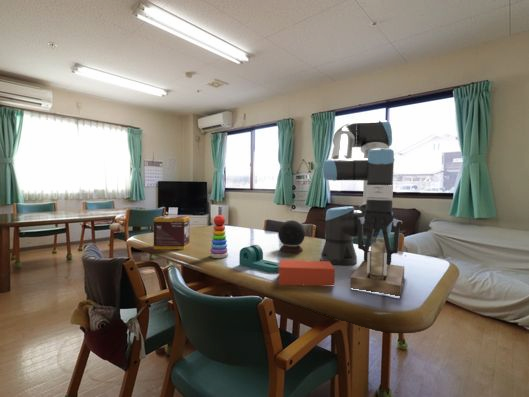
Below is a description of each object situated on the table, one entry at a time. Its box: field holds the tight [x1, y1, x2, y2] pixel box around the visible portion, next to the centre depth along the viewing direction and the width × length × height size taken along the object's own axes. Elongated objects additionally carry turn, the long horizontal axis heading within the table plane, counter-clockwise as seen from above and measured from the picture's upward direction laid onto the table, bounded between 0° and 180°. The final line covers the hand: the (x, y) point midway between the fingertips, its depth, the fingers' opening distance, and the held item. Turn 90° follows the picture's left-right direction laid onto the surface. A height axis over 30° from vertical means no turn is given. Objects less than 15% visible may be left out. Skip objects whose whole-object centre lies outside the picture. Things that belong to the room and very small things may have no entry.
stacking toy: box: [210, 214, 229, 259], centre depth 125 cm, size 8×8×19 cm
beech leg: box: [370, 241, 385, 280], centre depth 87 cm, size 4×4×14 cm
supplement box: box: [153, 215, 191, 250], centre depth 142 cm, size 10×15×16 cm
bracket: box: [238, 244, 279, 274], centre depth 109 cm, size 18×7×8 cm, turn 53°
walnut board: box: [349, 238, 405, 297], centre depth 93 cm, size 14×22×14 cm, turn 151°
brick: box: [278, 259, 336, 286], centre depth 95 cm, size 18×9×6 cm, turn 87°
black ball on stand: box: [277, 220, 306, 254], centre depth 138 cm, size 13×13×15 cm
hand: (376, 272), depth 88 cm, fingers closed on beech leg, 4 cm apart
